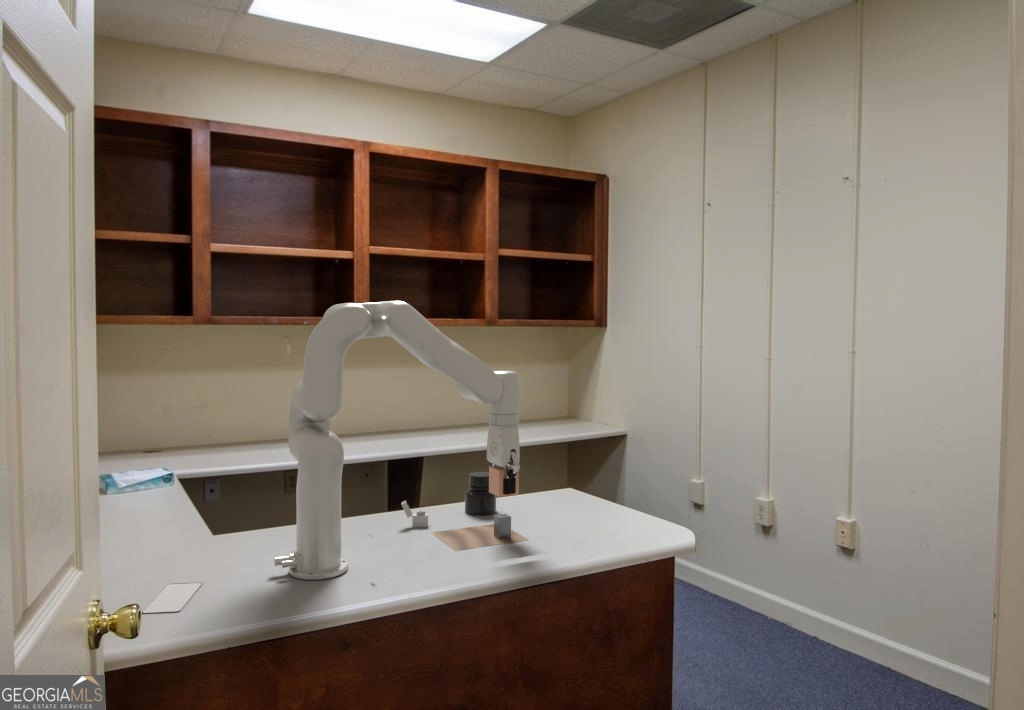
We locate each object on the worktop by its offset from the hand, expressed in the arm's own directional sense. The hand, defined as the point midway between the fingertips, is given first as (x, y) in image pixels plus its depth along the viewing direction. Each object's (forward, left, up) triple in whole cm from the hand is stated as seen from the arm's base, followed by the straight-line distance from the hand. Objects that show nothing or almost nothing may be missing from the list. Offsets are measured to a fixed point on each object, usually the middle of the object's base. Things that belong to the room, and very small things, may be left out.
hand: (503, 490), depth 175 cm
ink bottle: (+5, +24, -13) cm, 28 cm away
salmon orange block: (0, 0, -1) cm, 1 cm away
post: (0, 0, -12) cm, 12 cm away
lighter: (-17, +18, -13) cm, 28 cm away
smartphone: (-75, -4, -14) cm, 77 cm away
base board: (-5, +3, -13) cm, 14 cm away
